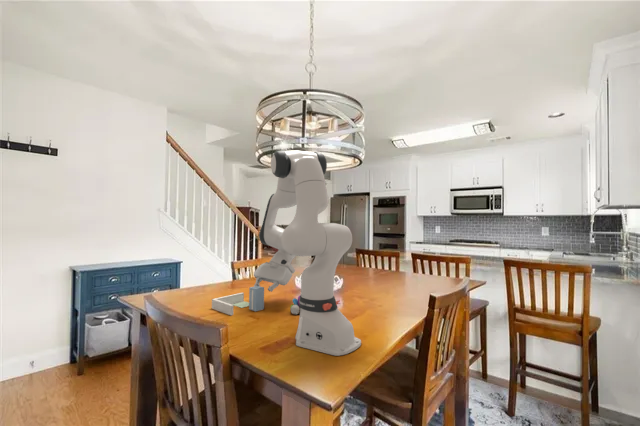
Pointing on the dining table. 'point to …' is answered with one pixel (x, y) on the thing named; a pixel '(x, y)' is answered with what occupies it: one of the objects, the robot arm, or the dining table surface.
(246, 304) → the pad
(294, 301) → the colourful small cluster
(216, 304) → the side wall
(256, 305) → the block
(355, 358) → the dining table surface
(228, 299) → the back wall
